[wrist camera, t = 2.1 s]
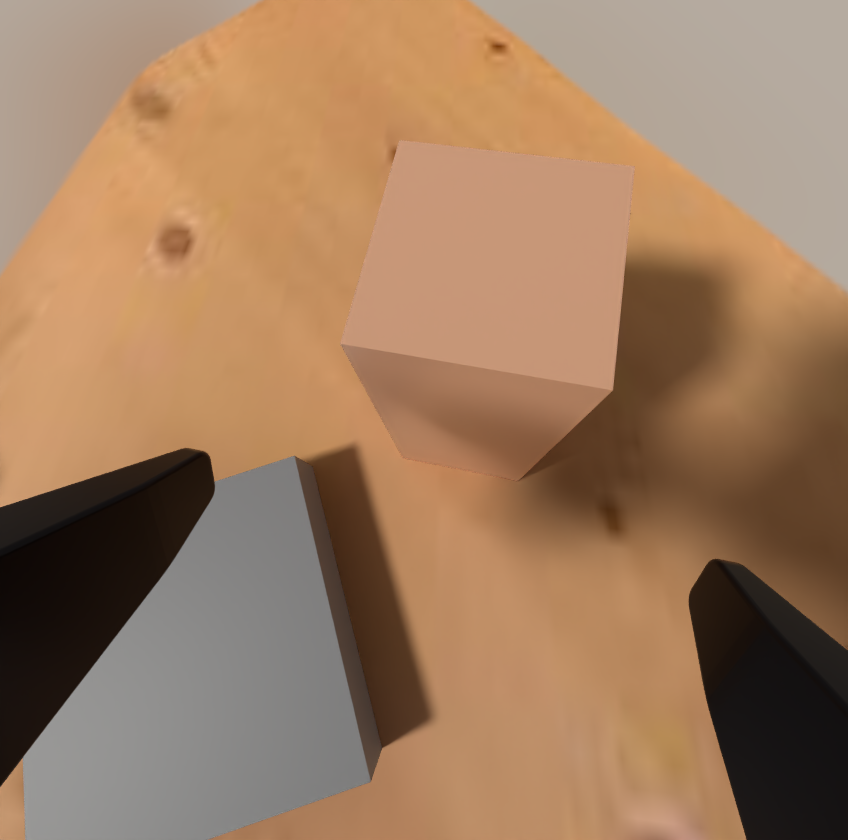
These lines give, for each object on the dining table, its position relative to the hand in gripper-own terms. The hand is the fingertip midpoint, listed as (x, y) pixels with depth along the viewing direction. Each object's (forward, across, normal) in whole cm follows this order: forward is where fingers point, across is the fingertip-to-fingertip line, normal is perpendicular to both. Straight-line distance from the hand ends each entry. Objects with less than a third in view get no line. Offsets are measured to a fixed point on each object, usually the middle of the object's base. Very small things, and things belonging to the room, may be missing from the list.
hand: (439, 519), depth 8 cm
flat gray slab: (+4, +9, +13) cm, 17 cm away
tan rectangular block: (+13, 0, +4) cm, 13 cm away
